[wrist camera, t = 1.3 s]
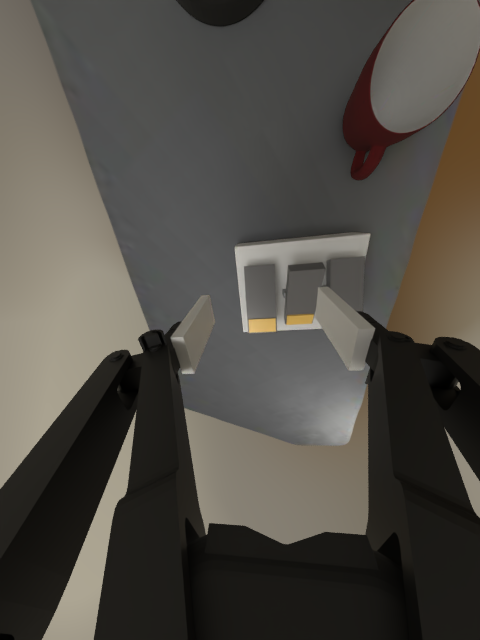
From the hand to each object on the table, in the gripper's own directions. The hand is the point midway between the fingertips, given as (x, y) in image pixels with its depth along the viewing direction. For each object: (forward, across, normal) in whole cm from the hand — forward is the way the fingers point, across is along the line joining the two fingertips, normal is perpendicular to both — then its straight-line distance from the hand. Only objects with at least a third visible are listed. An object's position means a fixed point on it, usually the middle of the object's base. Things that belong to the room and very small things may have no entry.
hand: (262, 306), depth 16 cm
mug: (+20, +14, +15) cm, 28 cm away
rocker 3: (+11, +12, -4) cm, 17 cm away
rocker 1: (+11, 0, -4) cm, 12 cm away
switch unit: (+19, +6, -4) cm, 21 cm away
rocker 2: (+11, +6, -4) cm, 14 cm away
